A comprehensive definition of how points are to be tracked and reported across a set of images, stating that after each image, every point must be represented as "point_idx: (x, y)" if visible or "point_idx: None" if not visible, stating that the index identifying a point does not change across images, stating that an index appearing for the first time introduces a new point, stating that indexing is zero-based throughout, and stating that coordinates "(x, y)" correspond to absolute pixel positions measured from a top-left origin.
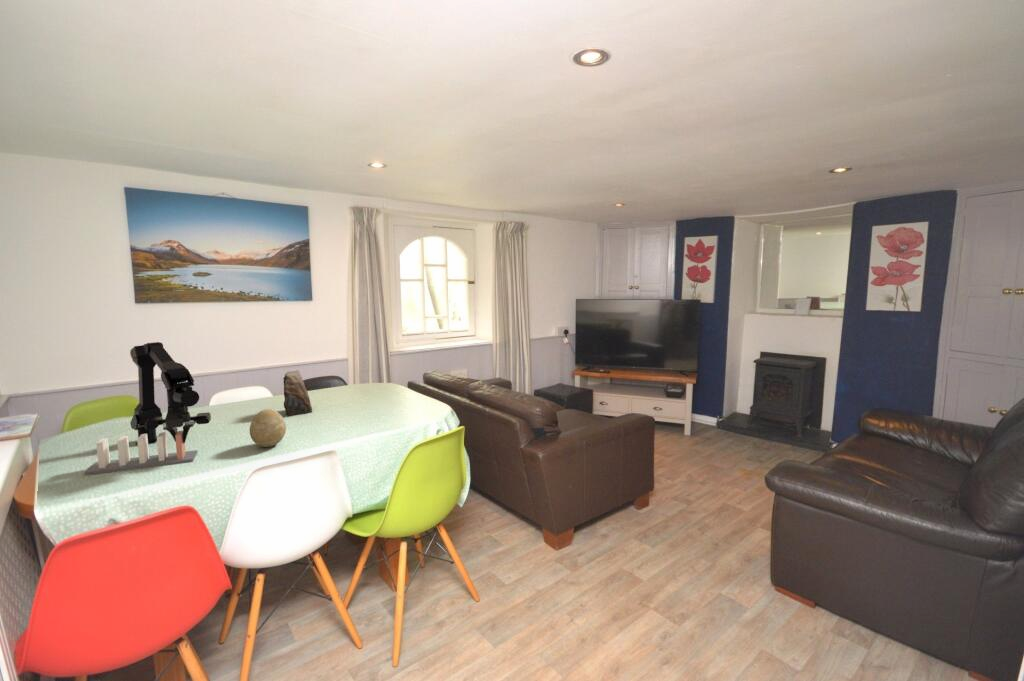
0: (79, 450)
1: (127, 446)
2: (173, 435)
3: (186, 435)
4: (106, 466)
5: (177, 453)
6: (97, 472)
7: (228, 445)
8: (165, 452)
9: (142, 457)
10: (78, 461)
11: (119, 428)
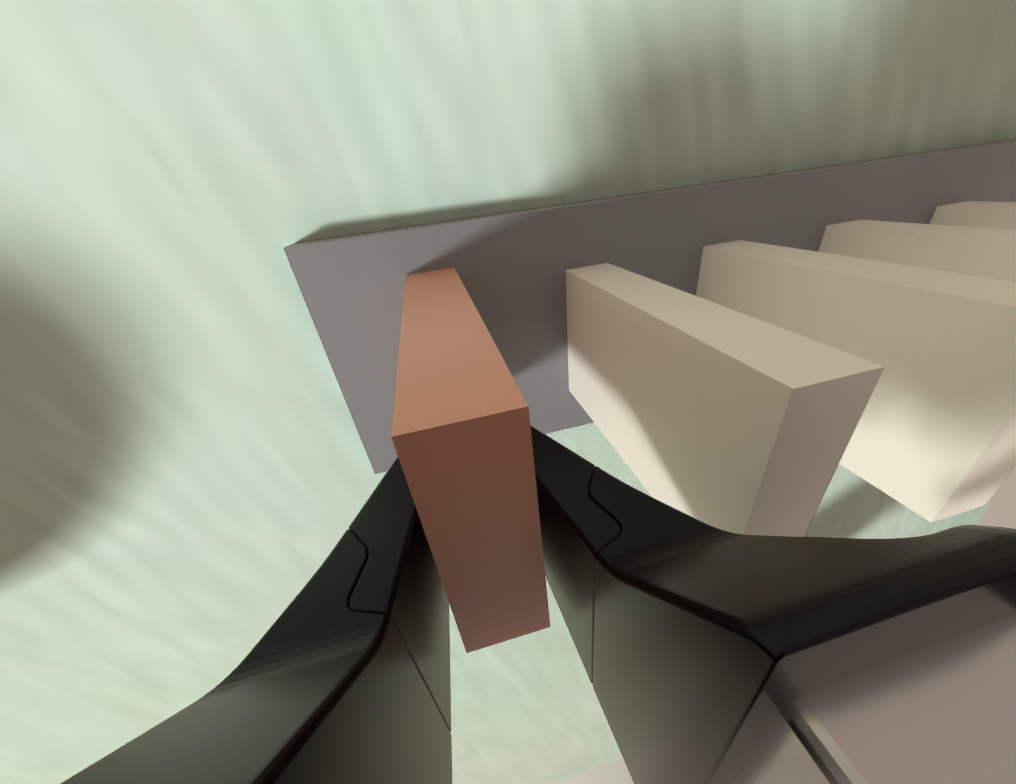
0: (913, 514)
1: None
2: (585, 480)
3: (354, 519)
4: None
5: (454, 283)
6: (971, 146)
7: (197, 575)
8: (591, 348)
9: (763, 252)
10: None
11: None
